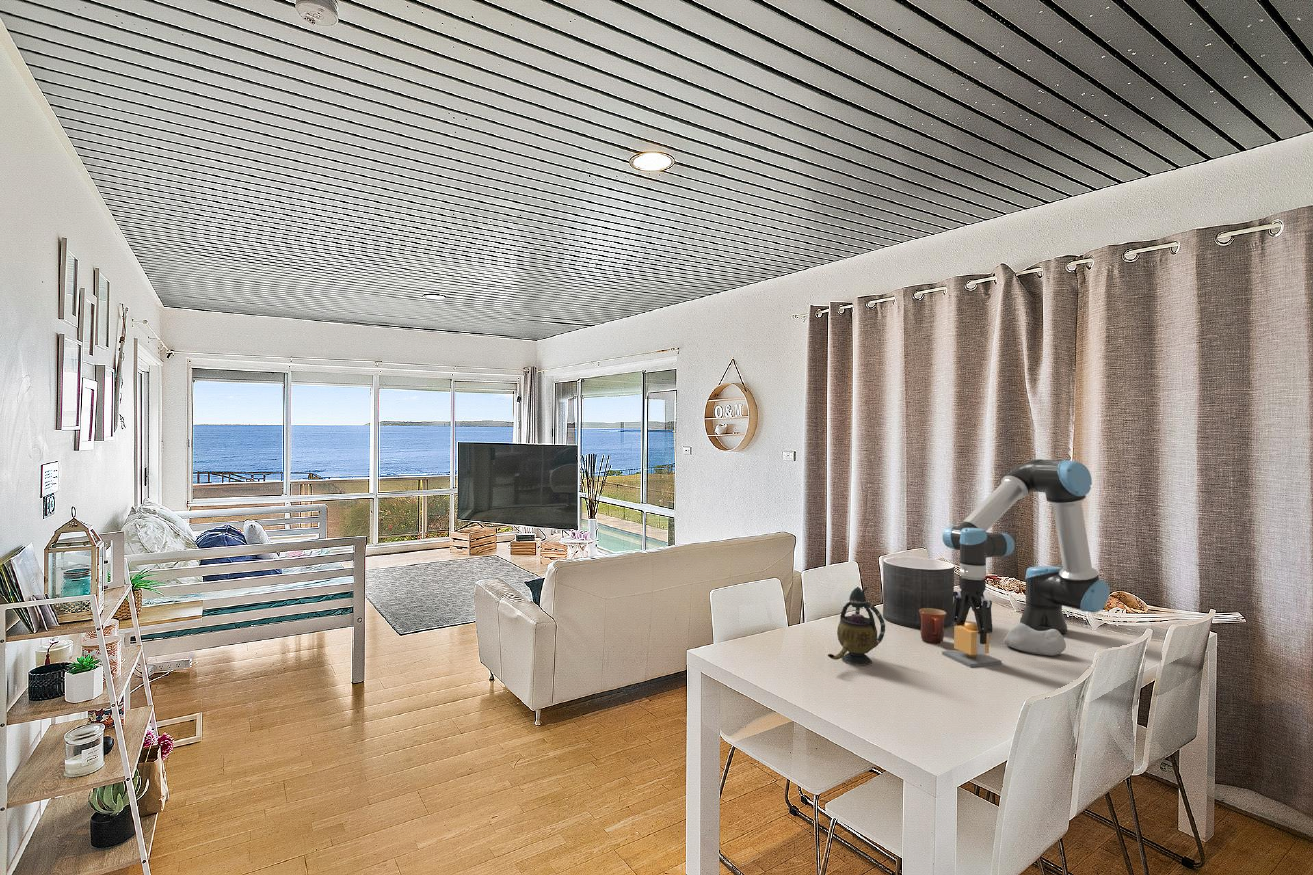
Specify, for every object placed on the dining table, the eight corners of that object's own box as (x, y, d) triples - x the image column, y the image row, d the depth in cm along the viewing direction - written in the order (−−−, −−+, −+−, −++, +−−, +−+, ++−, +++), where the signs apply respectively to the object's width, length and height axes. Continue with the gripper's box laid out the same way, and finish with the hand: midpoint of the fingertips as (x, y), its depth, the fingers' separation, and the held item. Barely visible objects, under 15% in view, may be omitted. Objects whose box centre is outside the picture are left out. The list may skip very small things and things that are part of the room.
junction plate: (971, 651, 212) (972, 633, 212) (1001, 663, 200) (1001, 644, 200) (941, 654, 208) (942, 635, 208) (970, 667, 197) (970, 647, 197)
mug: (916, 636, 227) (916, 607, 227) (942, 638, 226) (943, 609, 226) (923, 647, 216) (923, 616, 216) (951, 649, 214) (951, 618, 214)
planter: (965, 630, 236) (966, 570, 236) (895, 628, 236) (896, 568, 236) (936, 611, 261) (937, 557, 261) (873, 610, 261) (874, 556, 262)
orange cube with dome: (971, 646, 209) (972, 619, 209) (988, 653, 202) (989, 625, 202) (954, 647, 207) (954, 620, 207) (970, 654, 200) (971, 627, 200)
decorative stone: (1001, 642, 213) (1007, 614, 218) (1003, 652, 220) (1008, 625, 224) (1063, 657, 203) (1067, 628, 207) (1063, 668, 210) (1067, 639, 214)
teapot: (888, 659, 203) (889, 585, 203) (849, 679, 185) (850, 598, 185) (852, 649, 211) (853, 579, 211) (812, 668, 193) (813, 591, 194)
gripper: (940, 571, 213) (938, 640, 213) (987, 584, 194) (986, 661, 194) (958, 570, 215) (957, 639, 215) (1007, 583, 196) (1006, 659, 196)
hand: (971, 649), depth 204 cm, fingers closed on orange cube with dome, 7 cm apart
